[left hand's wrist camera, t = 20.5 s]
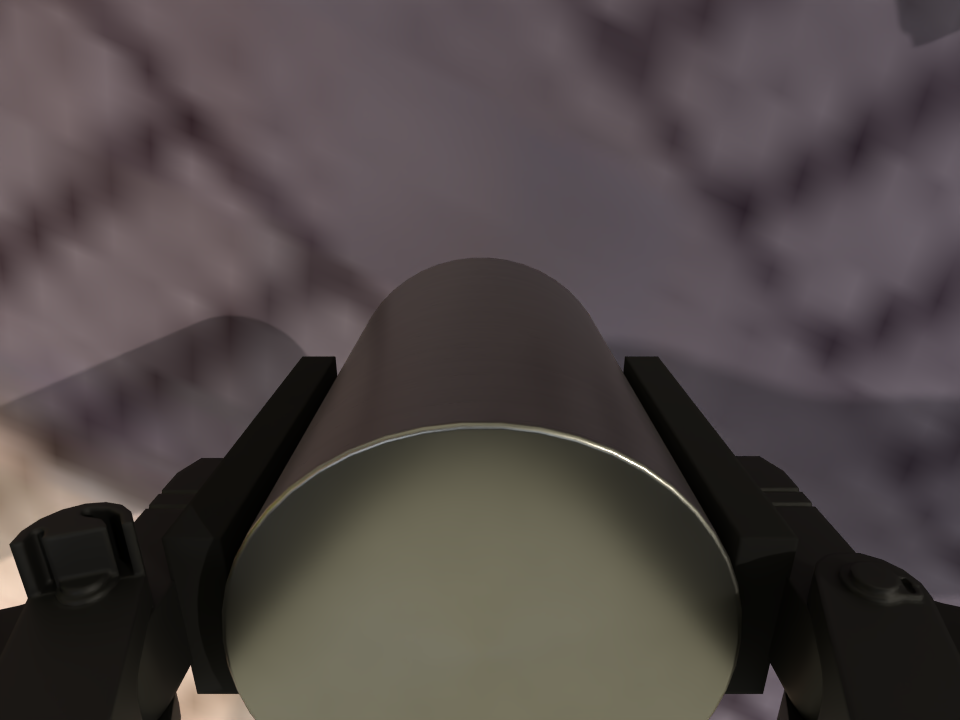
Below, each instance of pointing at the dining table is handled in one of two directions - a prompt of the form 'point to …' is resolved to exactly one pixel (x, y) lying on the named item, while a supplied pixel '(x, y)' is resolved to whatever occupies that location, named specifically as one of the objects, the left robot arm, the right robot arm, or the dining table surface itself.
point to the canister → (481, 529)
